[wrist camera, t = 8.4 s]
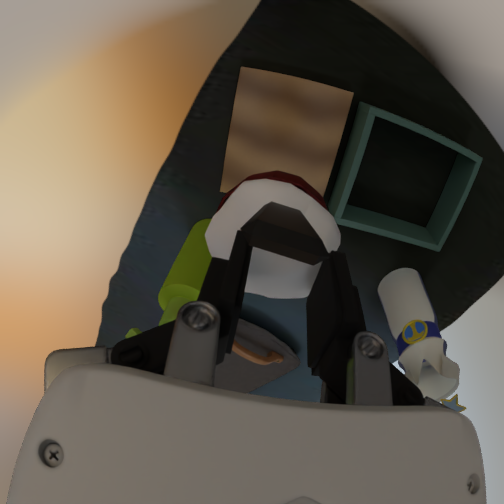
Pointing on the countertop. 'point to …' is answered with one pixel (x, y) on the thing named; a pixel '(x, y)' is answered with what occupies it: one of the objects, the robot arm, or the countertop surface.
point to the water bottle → (418, 336)
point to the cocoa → (276, 232)
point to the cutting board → (284, 128)
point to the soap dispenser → (184, 275)
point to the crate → (390, 226)
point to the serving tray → (254, 360)
